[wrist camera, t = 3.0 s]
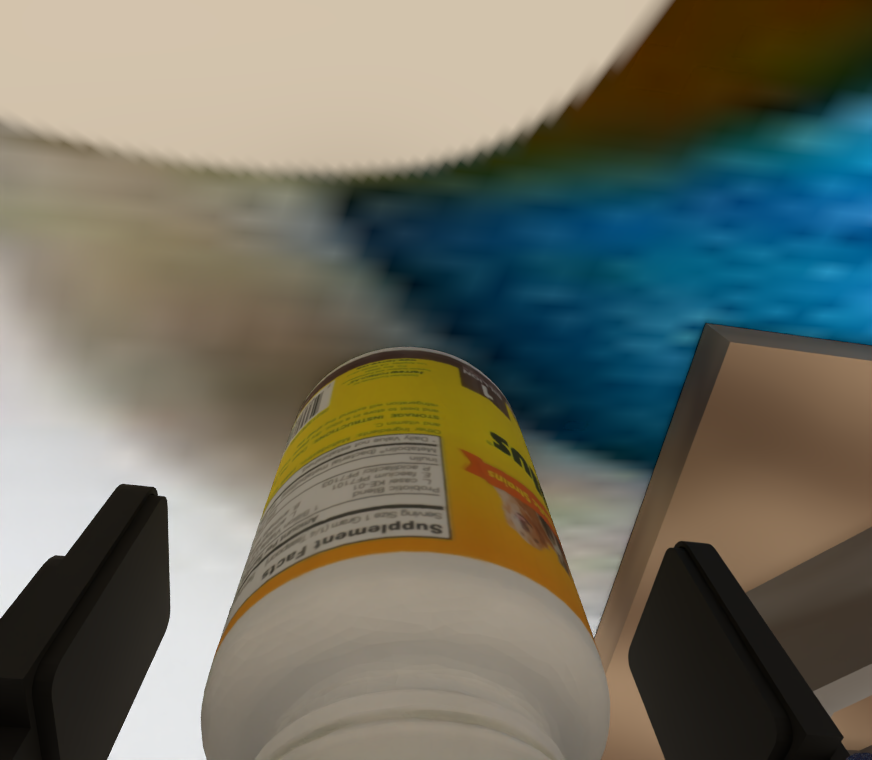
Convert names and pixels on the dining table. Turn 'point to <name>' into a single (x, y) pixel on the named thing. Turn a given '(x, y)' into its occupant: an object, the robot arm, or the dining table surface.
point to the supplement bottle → (406, 586)
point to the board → (763, 516)
